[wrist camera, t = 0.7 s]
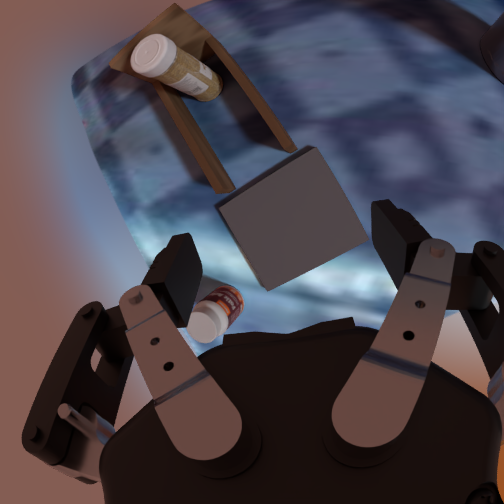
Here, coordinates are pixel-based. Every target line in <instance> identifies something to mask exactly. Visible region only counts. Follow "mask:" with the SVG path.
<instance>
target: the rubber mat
mask: <svg viewBox="0 0 504 504" xmlns="http://www.w3.org/2000/svg"><path fill="white" fill-rule="evenodd" d="M219 210H220V211H221V213H222V215H223V217H224V218H225V220H226V222H227V223H228V225H229V227H230V229H231V230H232V232H233V234H234V235H235V237H236V239H237V241H238V242H239V244H240V246H241V247H242V249H243V251H244V253H245V254H246V256H247V258H248V259H249V261H250V263H251V265H252V266H253V268H254V270H255V271H256V273H257V275H258V277H259V278H260V280H261V282H262V283H263V285H264V287H265V288H266V290H267V292H268V291H270V290H272V289H274V288H276V287H278V286H280V285H282V284H284V283H286V282H288V281H290V280H292V279H294V278H296V277H298V276H300V275H302V274H304V273H306V272H308V271H310V270H312V269H314V268H316V267H318V266H320V265H322V264H324V263H326V262H328V261H330V260H332V259H333V258H335V257H337V256H339V255H341V254H343V253H345V252H347V251H349V250H351V249H352V248H354V247H356V246H358V245H360V244H362V243H364V242H366V241H367V240H369V238H368V236H367V234H366V232H365V230H364V228H363V226H362V224H361V222H360V221H359V219H358V217H357V215H356V213H355V211H354V209H353V208H352V206H351V204H350V202H349V200H348V199H347V197H346V195H345V193H344V192H343V190H342V188H341V186H340V185H339V183H338V181H337V180H336V178H335V176H334V174H333V173H332V171H331V170H330V168H329V166H328V165H327V163H326V161H325V160H324V158H323V157H322V155H321V153H320V152H319V150H318V149H317V147H315V148H313V149H312V150H310V151H308V152H307V153H305V154H303V155H302V156H300V157H298V158H297V159H295V160H293V161H292V162H290V163H289V164H287V165H285V166H284V167H282V168H280V169H279V170H277V171H276V172H274V173H272V174H271V175H269V176H268V177H266V178H264V179H263V180H261V181H260V182H258V183H257V184H255V185H254V186H252V187H250V188H249V189H247V190H246V191H244V192H243V193H241V194H240V195H238V196H237V197H235V198H234V199H232V200H231V201H229V202H228V203H226V204H225V205H223V206H222V207H220V208H219Z"/></svg>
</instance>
